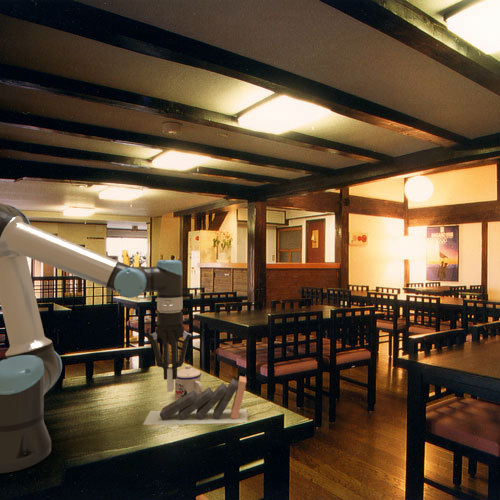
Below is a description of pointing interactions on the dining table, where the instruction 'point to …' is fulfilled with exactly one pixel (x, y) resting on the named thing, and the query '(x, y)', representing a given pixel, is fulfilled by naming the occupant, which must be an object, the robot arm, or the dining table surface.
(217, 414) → the domino
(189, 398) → the domino
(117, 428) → the dining table surface
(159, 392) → the dining table surface
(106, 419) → the dining table surface
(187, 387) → the teacup with lid
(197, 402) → the domino
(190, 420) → the board
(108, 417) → the dining table surface
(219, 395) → the domino
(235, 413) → the domino
